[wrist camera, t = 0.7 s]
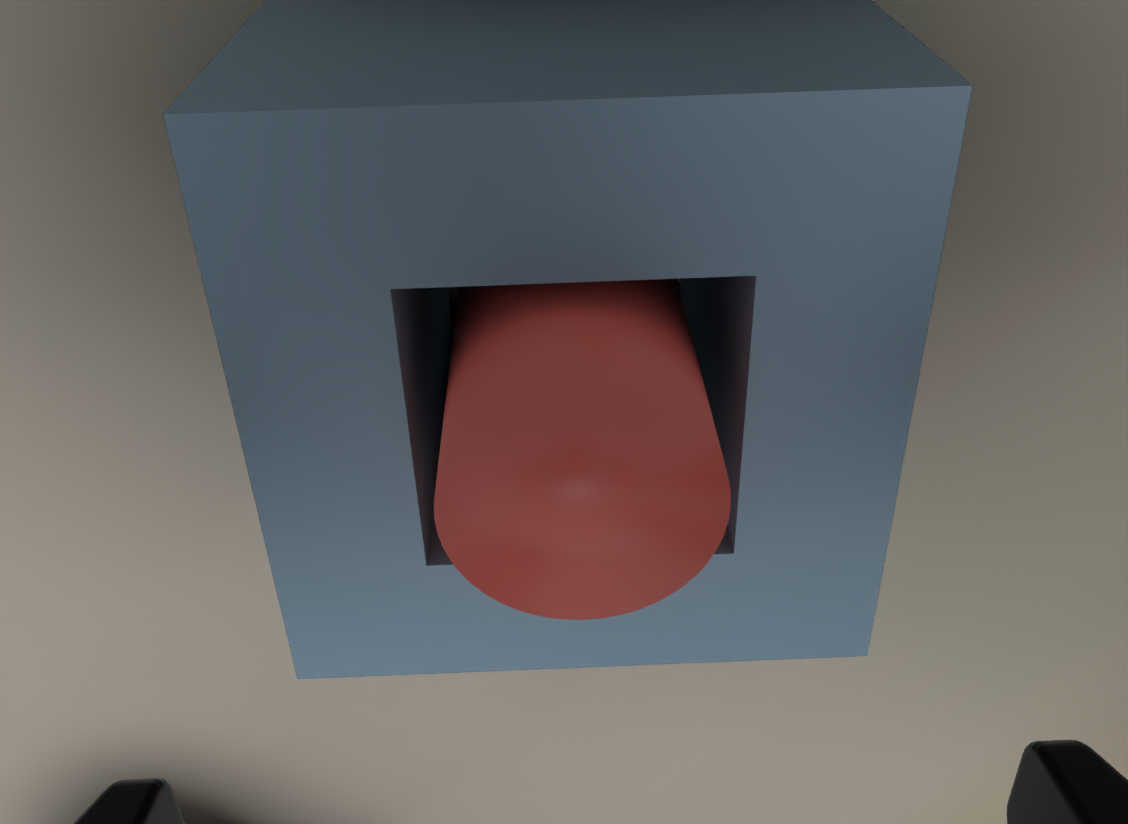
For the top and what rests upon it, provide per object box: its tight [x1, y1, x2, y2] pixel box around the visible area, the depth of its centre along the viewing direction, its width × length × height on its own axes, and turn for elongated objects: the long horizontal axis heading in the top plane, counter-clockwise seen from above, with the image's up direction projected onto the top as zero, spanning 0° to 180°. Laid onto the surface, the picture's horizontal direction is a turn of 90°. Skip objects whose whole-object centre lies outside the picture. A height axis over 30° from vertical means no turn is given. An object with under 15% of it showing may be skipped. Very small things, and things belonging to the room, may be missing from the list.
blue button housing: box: [163, 0, 972, 679], centre depth 15 cm, size 8×8×6 cm
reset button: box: [434, 279, 731, 620], centre depth 14 cm, size 3×3×5 cm
